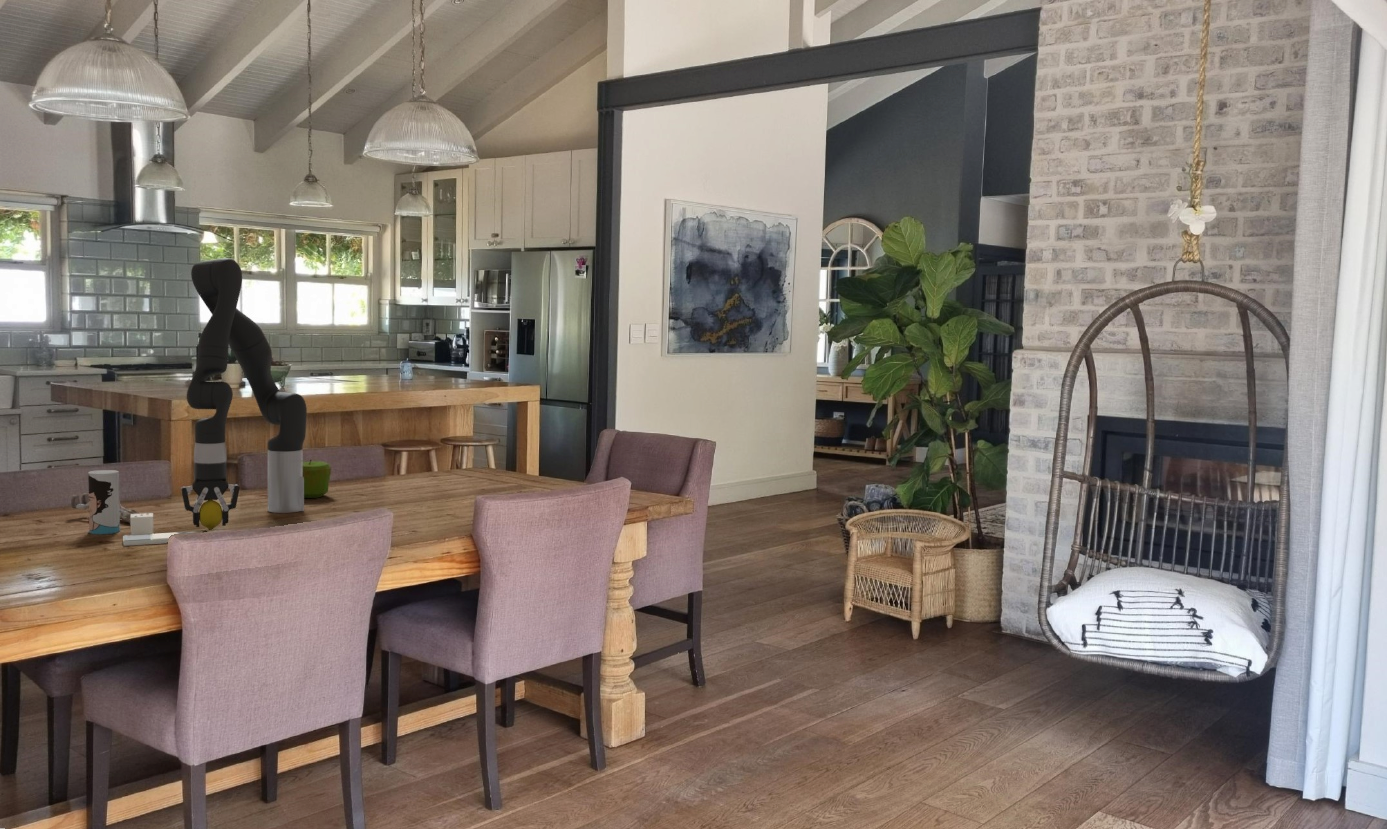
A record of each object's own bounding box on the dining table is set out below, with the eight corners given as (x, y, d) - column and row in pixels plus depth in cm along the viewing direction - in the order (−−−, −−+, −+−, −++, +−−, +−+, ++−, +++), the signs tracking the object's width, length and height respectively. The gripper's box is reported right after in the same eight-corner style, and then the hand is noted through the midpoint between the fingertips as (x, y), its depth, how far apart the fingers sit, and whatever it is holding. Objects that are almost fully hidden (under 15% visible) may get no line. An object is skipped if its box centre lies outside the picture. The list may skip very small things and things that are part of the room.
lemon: (203, 527, 290) (203, 497, 290) (225, 528, 291) (225, 497, 290) (195, 532, 285) (195, 500, 284) (218, 532, 285) (218, 501, 285)
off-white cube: (153, 532, 283) (153, 512, 283) (153, 536, 279) (153, 515, 278) (130, 533, 281) (130, 513, 281) (129, 537, 276) (129, 516, 276)
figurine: (88, 491, 302) (147, 505, 296) (86, 512, 303) (145, 526, 297) (68, 494, 296) (129, 509, 290) (67, 515, 297) (127, 530, 291)
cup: (106, 527, 287) (105, 469, 285) (125, 530, 284) (125, 471, 283) (83, 532, 280) (81, 472, 279) (103, 535, 278) (102, 474, 277)
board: (230, 533, 284) (230, 529, 284) (232, 539, 278) (232, 534, 278) (123, 540, 273) (123, 535, 273) (123, 545, 267) (123, 540, 267)
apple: (300, 492, 349) (300, 456, 348) (338, 494, 347) (338, 458, 346) (280, 498, 337) (280, 461, 336) (319, 501, 335) (319, 463, 334)
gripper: (239, 457, 293) (239, 521, 294) (178, 459, 286) (178, 525, 288) (242, 461, 286) (242, 527, 288) (180, 463, 280) (180, 530, 281)
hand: (210, 525), depth 288 cm, fingers closed on lemon, 5 cm apart
